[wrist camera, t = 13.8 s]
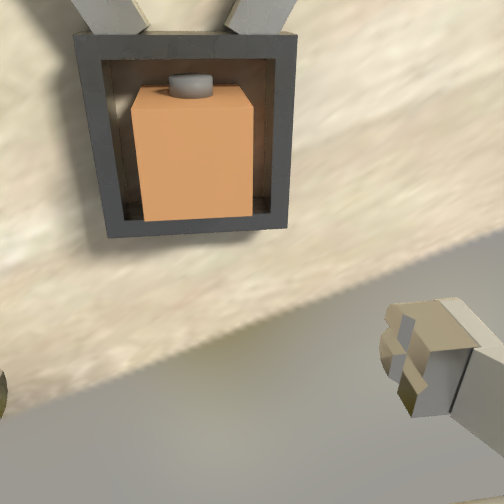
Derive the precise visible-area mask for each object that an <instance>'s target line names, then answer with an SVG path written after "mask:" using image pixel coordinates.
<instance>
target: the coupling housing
mask: <svg viewBox="0 0 504 504" xmlns="http://www.w3.org/2000/svg"><path fill="white" fill-rule="evenodd" d="M296 1H297V0H236V1H235V3H234V5H233V7H232V9H231V11H230V13H229V15H228V17H227V19H226V21H225V23H224V25H225V26H227V27H228V28H230V29H232V30H233V31H235V32H216V31H142V30H143V29H145V28H146V27H148V26H149V25H150V23H149V21H148V19H147V18H146V16H145V15H144V13H143V11H142V10H141V8H140V6H139V5H138V3H137V2H136V0H71V2H72V3H73V5H74V6H75V7H76V9H77V10H78V12H79V13H80V15H81V16H82V18H83V19H84V21H85V22H86V23H87V25H88V26H89V28H90V29H91V31H83V32H80V33H77V34H74V35H73V39H74V45H75V51H76V56H77V62H78V68H79V74H80V80H81V85H82V91H83V97H84V103H85V108H86V114H87V120H88V126H89V132H90V137H91V143H92V149H93V155H94V160H95V166H96V172H97V178H98V184H99V189H100V195H101V201H102V207H103V213H104V218H105V224H106V230H107V236H108V238H124V237H142V236H159V235H177V234H195V233H213V232H231V231H248V230H266V229H284V228H287V224H288V205H289V187H290V168H291V150H292V131H293V113H294V94H295V75H296V57H297V38H298V35H296V34H293V33H290V32H280V31H281V29H282V27H283V25H284V24H285V22H286V20H287V18H288V16H289V14H290V12H291V11H292V9H293V7H294V5H295V3H296ZM121 59H267V63H266V106H265V150H264V193H263V196H259V197H253V206H252V216H242V217H223V218H203V219H184V220H164V221H144V213H143V204H142V202H130V203H129V199H128V192H127V185H126V178H125V171H124V164H123V157H122V149H121V142H120V135H119V128H118V121H117V114H116V107H115V99H114V92H113V85H112V78H111V71H110V64H109V60H121Z"/></svg>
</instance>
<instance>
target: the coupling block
mask: <svg viewBox="0 0 504 504" xmlns="http://www.w3.org/2000/svg"><path fill="white" fill-rule="evenodd" d="M253 111H254V107H253V106H252V104H251V103H250V101H249V100H248V98H247V97H246V95H245V94H244V92H243V91H242V89H241V88H240V86H239V85H238V84H213V79H212V76H211V75H208V74H196V73H187V74H175V75H171V76H169V85H142V86H141V88H140V90H139V92H138V95H137V97H136V99H135V101H134V104H133V106H132V108H131V115H132V123H133V132H134V140H135V148H136V156H137V164H138V172H139V180H140V188H141V196H142V204H143V213H144V221H164V220H184V219H203V218H223V217H242V216H252V206H253Z"/></svg>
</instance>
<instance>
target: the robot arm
mask: <svg viewBox="0 0 504 504" xmlns="http://www.w3.org/2000/svg"><path fill="white" fill-rule="evenodd" d="M385 321H386V322H387V324H388V325H389V328H387V329H386V330H385V332H383V334H382V335H381V339H380V345H379V350H380V359H381V362H382V365H383V368H384V370H385V372H386V374H387V376H388V377H389V378H391V379H392V380H394V381H395V382H397V383H399V387H398V391H397V394H398V395H399V397H400V399H401V401H402V402H403V404H404V406H405V407H406V409H407V411H408V413H409V415H410V416H411V418H416V417H426V416H437V415H448V414H450V417H451V418H453V419H454V420H456V421H457V422H458V423H459V424H461V425H462V426H463V427H465V428H466V429H467V430H469V431H470V432H471V433H472V434H474V435H475V436H476V437H478V438H479V439H480V440H482V441H483V442H484V443H485V444H487V445H488V446H489V447H491V448H492V449H494V450H495V451H496V452H497V453H499V454H500V455H501V456H502V457H504V344H503V343H502V342H501V341H500V340H499V339H498V338H497V337H496V336H495V335H494V334H493V333H492V332H491V331H490V329H488V327H487V326H486V325H485V324H484V323H483V322H482V321H481V320H480V319H479V318H478V317H477V316H476V315H475V314H474V313H473V312H472V311H471V310H470V309H469V308H468V306H467V305H466V304H465V303H464V302H463V301H462V300H460V299H458V298H456V297H452V298H443V299H435V300H431V301H420V302H409V303H397V304H390V305H389V307H388V308H387V310H386V314H385ZM7 394H8V389H7V381H6V378H5V375H4V372H3V370H1V369H0V420H1V418H2V415H3V413H4V410H5V407H6V402H7ZM451 504H504V495H503V496H497V497H490V498H483V499H477V500H470V501H464V502H457V503H451Z"/></svg>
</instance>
